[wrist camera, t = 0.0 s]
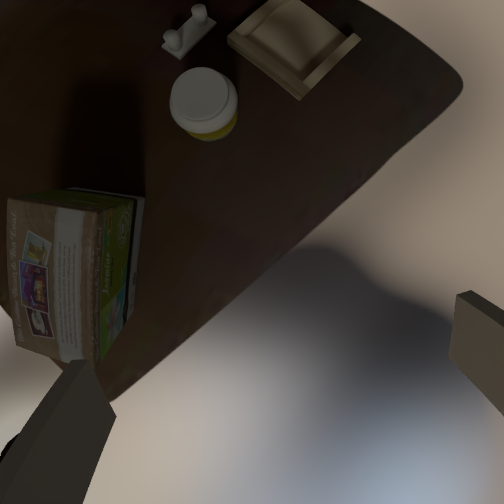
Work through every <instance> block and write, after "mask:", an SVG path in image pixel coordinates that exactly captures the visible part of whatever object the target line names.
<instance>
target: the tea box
mask: <svg viewBox="0 0 504 504" xmlns="http://www.w3.org/2000/svg"><path fill="white" fill-rule="evenodd" d="M144 203H145V198H144V197H139V196H132V195H125V194H118V193H111V192H104V191H96V190H90V189H83V188H76V187H75V188H65V189H57V190H51V191H44V192H38V193H32V194H26V195H20V196H15V197H10V198H8V205H7V268H8V283H9V295H10V305H11V314H12V321H13V329H14V335H15V341H16V345H17V346H19V347H22V348H25V349H28V350H30V351H33V352H36V353H39V354H42V355H45V356H48V357H51V358H54V359H57V360H60V361H63V362H66V363H70V361H71V360H78V359H89V361H90V363H91V366H92V368H93V370H94V371H95V370H96V369H97V367H98V366H99V364H100V363H101V361H102V360H103V358H104V356H105V355H106V353H107V351H108V349H109V348H110V346H111V345H112V343H113V342H114V340H115V338H116V337H117V335H118V333H119V332H120V331H121V329H122V328H123V326H124V324H125V322H126V321H127V320H128V318H129V317H130V315H131V313H132V312H133V308H134V298H135V284H136V274H137V262H138V252H139V245H140V234H141V227H142V219H143V210H144Z"/></svg>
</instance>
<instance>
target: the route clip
mask: <svg viewBox="0 0 504 504" xmlns="http://www.w3.org/2000/svg"><path fill="white" fill-rule="evenodd" d="M191 11H192V15H193V16H192V17H191V18H190V19H189V20H188V21H186V22H185V23H184V24H183V25H182V26H181V27H180V28H179V29H178V30H177V31H176V30H173V29H171V30H168V31H166V32H165V33H164V36H163V37H164V40H165V41H166V42H165V43H164V44H163V45H162V48H164V49H165V50H167V51H168V52H169V53H171V54H172V55H174V56H175V57H177V58H178V59H180V60H181V59H182V58H183V57H184V56H185V55H186V54H187V53H188V52H189V50H190V49H191V48H192V47H194V46H195V45H196V44H197V43H198V42H199V41H200V40H201V39H202V38H203V37H204V36H205V35H206V34H207V33H208V32H209V31H210V30H211V29H212V28H213V27H214V26H216V25H217V22H215V21H214V20H212V19H211V18H209V17H207V11H206V7H205V5H203V4H196V5H194V6H193V7H192V9H191Z"/></svg>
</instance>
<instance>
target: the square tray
mask: <svg viewBox="0 0 504 504" xmlns="http://www.w3.org/2000/svg"><path fill="white" fill-rule="evenodd" d="M360 40H361V39H360V38H359V37H358V36H357V35H356V34H355V33H353V34H352V35H351V36H350V37H348V38H347V37H346V36H345V35H344V34H343V33H341V32H340V31H339V30H338V29H337V28H335V27H334V26H333V25H332V24H330V23H329V22H328V21H327V20H325V19H324V18H323V17H322V16H320V15H319V14H318V13H316V12H315V11H314V10H312V9H311V8H310V7H308V6H307V5H306V4H304V3H303V2H301V1H300V0H268V1H267V2H266V3H265V4H264V5H262V6H261V7H260V8H259V9H257V10H256V11H255V12H254V13H253V14H252V15H250V16H249V17H248V18H247V19H246V20H245V21H244V22H242V23H241V24H240V25H239V26H238V27H237V28H236V29H235V30H233V31H232V32H231V33H230V34H229V35H228V36H227V44H228V45H229V46H230V47H231V48H233V49H234V50H236V51H237V52H238V53H240V54H241V55H242V56H244V57H245V58H246V59H248V60H249V61H250V62H252V63H253V64H254V65H256V66H257V67H258V68H260V69H261V70H262V71H264V72H265V73H266V74H267V75H269V76H270V77H271V78H272V79H274V80H275V81H276V82H277V83H279V84H280V85H281V86H282V87H283V88H285V89H286V90H287V91H288V92H289V93H291V94H292V95H293V96H294V97H295V98H296V99H298V100H299V101H300V100H301V99H302V98H303V97H304V96H305V95H306V94H307V93H308V92H309V91H310V90H311V89H312V88H313V87H314V86H315V85H316V84H317V82H318V81H319V80H320V79H321V78H322V77H323V76H324V75H325V74H326V73H327V72H328V71H329V70H330V69H331V68H332V67H333V66H334V65H335V64H336V63H337V62H338V61H339V60H340V59H342V58H343V57H344V56H345V55H346V54H347V53H348V52H349V51H350V50H351V49H352V48H353V47H354V46H355V45H356V44H357V43H358V42H359V41H360Z"/></svg>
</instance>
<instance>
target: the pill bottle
mask: <svg viewBox="0 0 504 504" xmlns="http://www.w3.org/2000/svg"><path fill="white" fill-rule="evenodd" d="M170 110H171V114H172V116H173V118H174V120H175V121H176V122H177V123H178V125H179V126H181V127H182V128H183V129H184V130H186V131H187V132H188V133H189V134H191V135H192V136H193V137H195V138H197V139H199V140H203V141H215V140H219V139H221V138H223V137H225V136H226V135H228V134H229V133H230V132H231V131H232V129H233V128H234V126H235V124H236V122H237V118H238V97H237V92H236V89H235V87H234V85H233V84H232V82H231V81H230V80H229V79H228V78H227V77H226V76H224V75H223V74H221V73H219V72H217V71H215V70H213V69H211V68H206V67H197V68H193V69H190V70H188V71H186V72H184V73H183V74H181V75H180V76H179V77H178V78H177V80H176V81H175V83H174V85H173V87H172V91H171V96H170Z"/></svg>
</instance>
